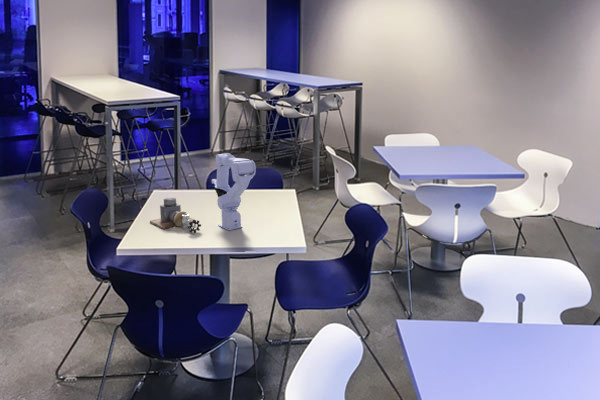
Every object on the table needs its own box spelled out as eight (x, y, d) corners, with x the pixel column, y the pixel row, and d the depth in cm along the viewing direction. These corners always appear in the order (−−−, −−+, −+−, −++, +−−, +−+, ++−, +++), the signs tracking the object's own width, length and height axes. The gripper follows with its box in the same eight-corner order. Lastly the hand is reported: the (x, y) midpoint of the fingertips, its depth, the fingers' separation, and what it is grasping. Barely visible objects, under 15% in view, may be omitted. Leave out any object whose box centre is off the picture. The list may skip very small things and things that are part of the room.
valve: (177, 227, 304) (188, 234, 294) (177, 214, 302) (188, 221, 293) (190, 225, 307) (201, 231, 298) (189, 212, 306) (201, 218, 296)
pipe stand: (198, 223, 310) (197, 200, 307) (165, 230, 299) (164, 207, 296) (181, 215, 322) (180, 194, 319) (149, 222, 311) (148, 200, 308)
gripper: (207, 173, 308) (206, 197, 314) (225, 184, 299) (223, 209, 305) (218, 169, 312) (217, 194, 319) (236, 180, 303) (235, 205, 310)
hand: (221, 201), depth 312 cm, fingers closed
